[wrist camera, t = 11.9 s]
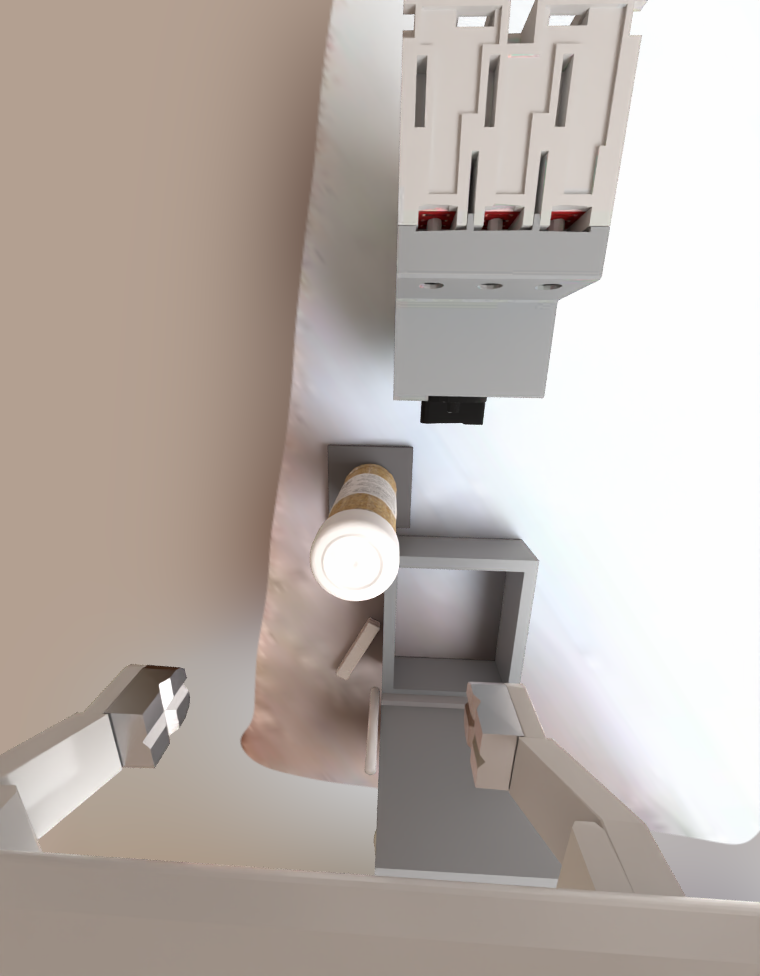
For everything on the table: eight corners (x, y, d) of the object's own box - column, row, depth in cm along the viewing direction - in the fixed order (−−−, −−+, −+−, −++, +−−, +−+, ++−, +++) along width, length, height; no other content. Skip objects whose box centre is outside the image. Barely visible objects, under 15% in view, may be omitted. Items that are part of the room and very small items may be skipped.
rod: (369, 615, 36) (368, 622, 34) (380, 620, 36) (380, 628, 35) (337, 666, 37) (335, 675, 36) (348, 671, 38) (346, 680, 36)
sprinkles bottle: (369, 523, 32) (353, 620, 19) (332, 486, 31) (288, 562, 18) (408, 489, 31) (419, 567, 18) (370, 450, 30) (353, 502, 17)
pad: (328, 444, 31) (327, 446, 30) (412, 447, 30) (413, 448, 30) (330, 523, 33) (329, 525, 32) (409, 525, 32) (409, 528, 32)
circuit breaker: (393, 411, 30) (392, 440, 15) (398, 204, 26) (404, -18, 11) (486, 413, 30) (573, 444, 15) (506, 205, 26) (651, -22, 11)
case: (375, 534, 33) (358, 670, 17) (522, 539, 32) (637, 682, 17) (372, 670, 37) (357, 875, 22) (502, 676, 37) (581, 889, 21)
